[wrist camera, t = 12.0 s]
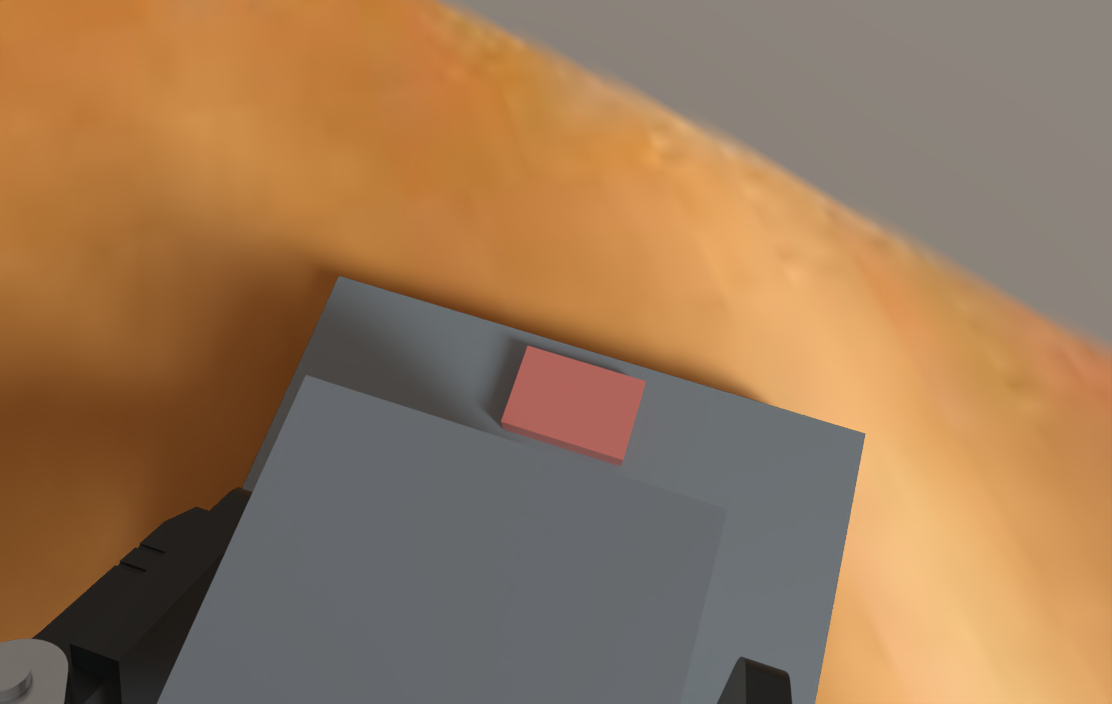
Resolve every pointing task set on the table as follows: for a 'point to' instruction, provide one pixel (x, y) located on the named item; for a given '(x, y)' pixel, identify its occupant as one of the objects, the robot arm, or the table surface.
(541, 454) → the plug
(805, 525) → the socket
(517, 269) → the table surface
